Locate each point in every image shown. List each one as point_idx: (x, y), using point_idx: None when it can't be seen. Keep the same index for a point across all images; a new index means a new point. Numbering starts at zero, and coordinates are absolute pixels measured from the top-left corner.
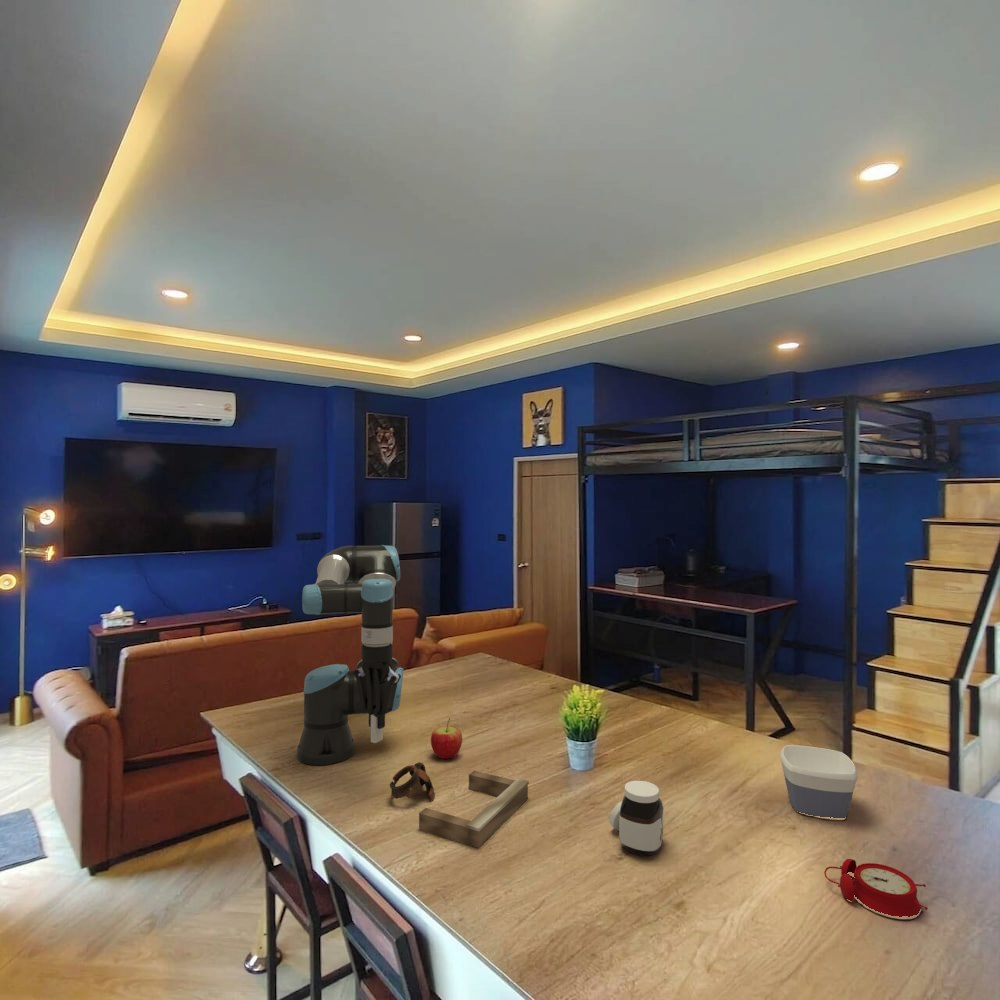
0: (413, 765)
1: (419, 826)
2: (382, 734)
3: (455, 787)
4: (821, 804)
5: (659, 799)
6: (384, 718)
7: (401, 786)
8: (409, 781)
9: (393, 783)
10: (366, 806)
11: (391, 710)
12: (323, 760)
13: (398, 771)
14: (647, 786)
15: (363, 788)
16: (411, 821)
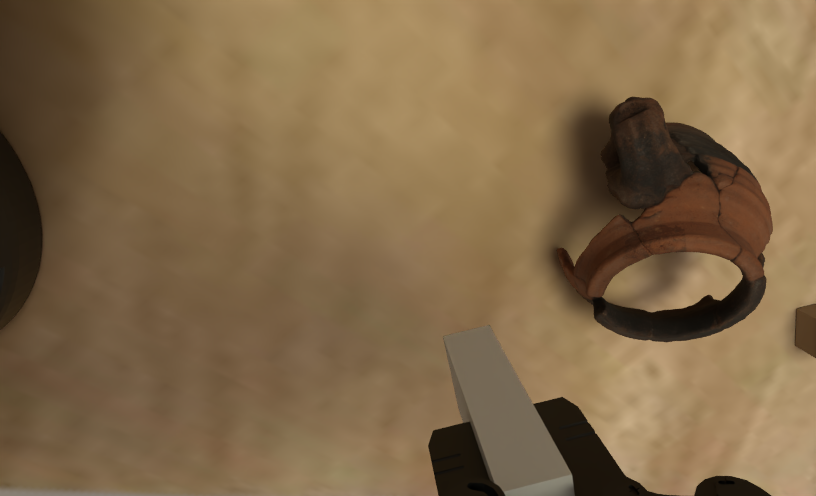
0: (713, 242)
1: (806, 350)
2: (500, 346)
3: (742, 3)
4: None
5: None
6: (608, 457)
7: (700, 335)
8: (743, 317)
9: (610, 309)
10: (527, 377)
11: (754, 492)
12: (7, 315)
13: (604, 269)
14: None
15: (396, 304)
16: (740, 329)
